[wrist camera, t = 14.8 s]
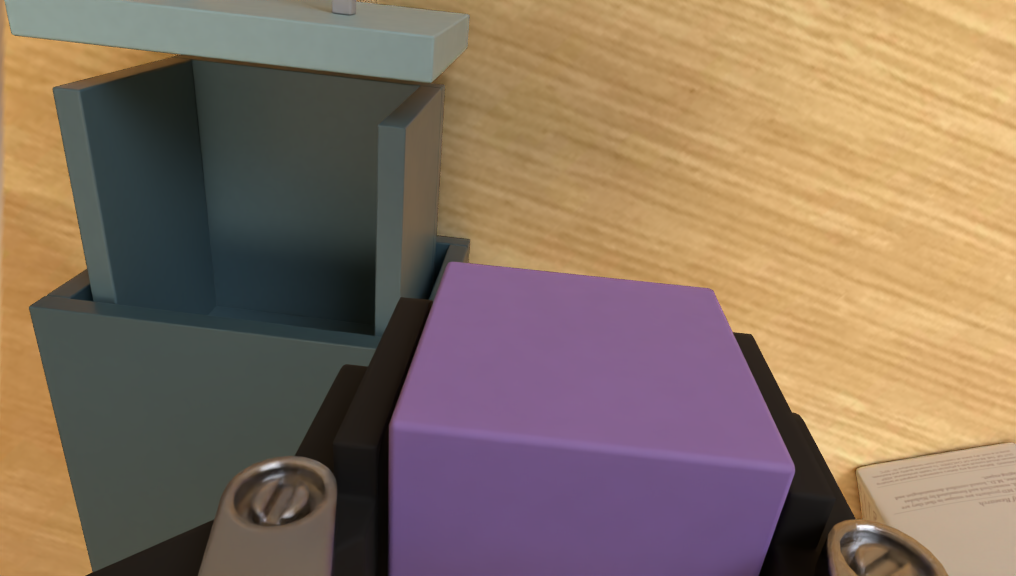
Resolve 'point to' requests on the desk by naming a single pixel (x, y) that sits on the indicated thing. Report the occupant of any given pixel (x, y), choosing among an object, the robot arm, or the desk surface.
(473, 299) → the purple rounded cube
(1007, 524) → the white packaging box
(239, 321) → the drawer cabinet
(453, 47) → the pull-out drawer
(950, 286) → the desk surface
